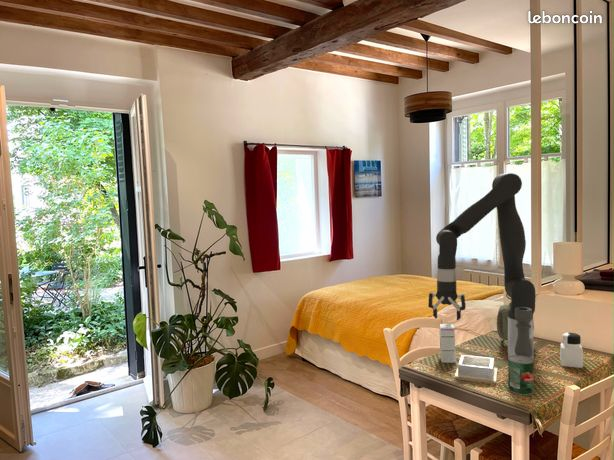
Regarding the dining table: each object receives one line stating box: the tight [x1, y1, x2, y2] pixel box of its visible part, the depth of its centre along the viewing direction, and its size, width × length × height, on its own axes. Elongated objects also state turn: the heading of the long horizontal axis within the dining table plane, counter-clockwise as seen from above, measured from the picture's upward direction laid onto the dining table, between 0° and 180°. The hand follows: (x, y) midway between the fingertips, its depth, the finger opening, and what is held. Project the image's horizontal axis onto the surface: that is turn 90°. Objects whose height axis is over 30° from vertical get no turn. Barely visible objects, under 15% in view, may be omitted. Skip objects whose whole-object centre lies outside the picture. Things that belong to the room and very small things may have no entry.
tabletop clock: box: [496, 293, 535, 345], centre depth 200 cm, size 14×9×25 cm, turn 65°
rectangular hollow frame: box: [454, 354, 499, 385], centre depth 172 cm, size 14×14×5 cm
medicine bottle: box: [559, 332, 584, 369], centre depth 179 cm, size 7×7×12 cm
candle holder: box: [514, 307, 534, 357], centre depth 168 cm, size 6×6×25 cm
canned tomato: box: [507, 355, 535, 396], centre depth 156 cm, size 8×8×11 cm
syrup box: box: [438, 323, 457, 364], centre depth 188 cm, size 6×6×14 cm
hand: (446, 318), depth 187 cm, fingers open, 8 cm apart
